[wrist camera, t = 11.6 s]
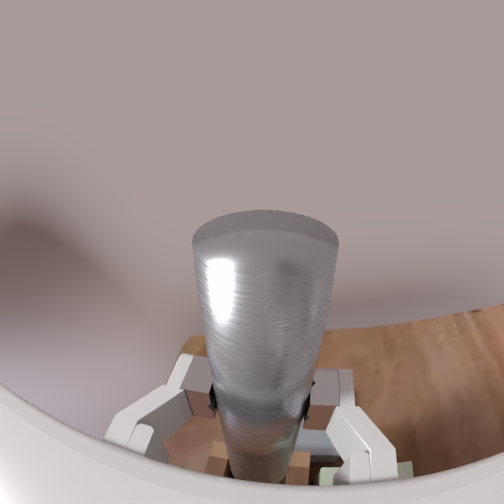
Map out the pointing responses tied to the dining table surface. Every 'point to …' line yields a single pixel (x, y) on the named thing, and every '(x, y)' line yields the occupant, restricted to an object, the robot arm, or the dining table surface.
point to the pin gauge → (263, 328)
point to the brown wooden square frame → (294, 476)
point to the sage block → (327, 473)
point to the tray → (316, 445)
